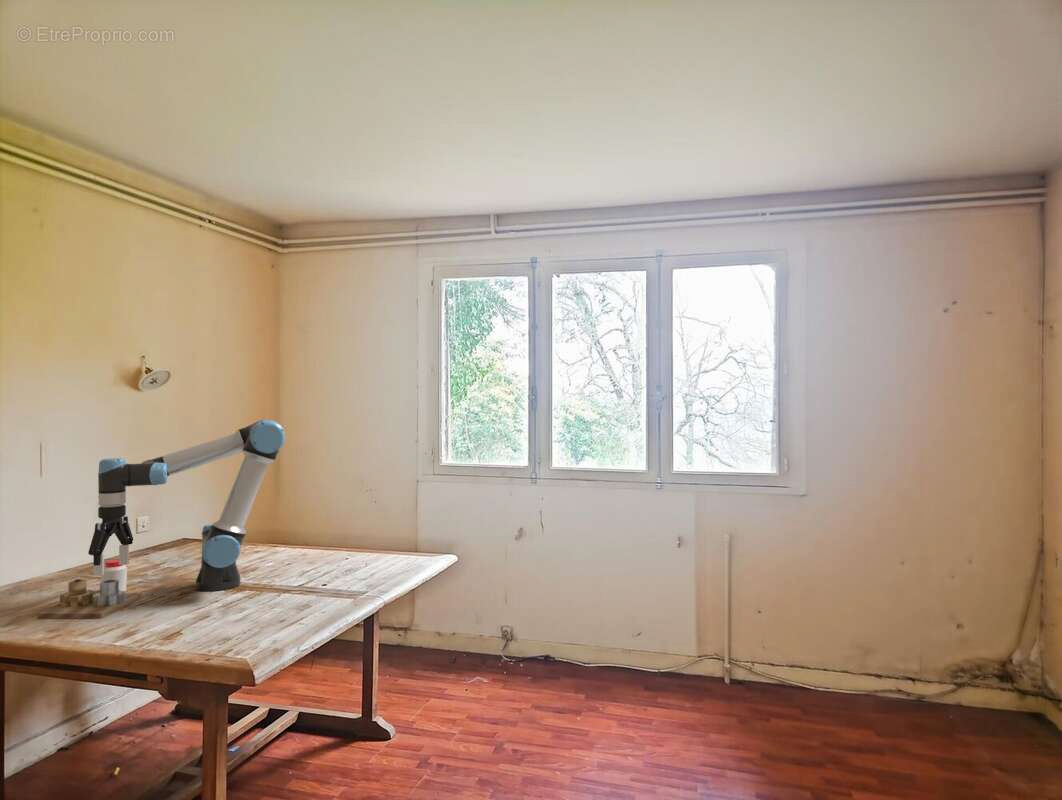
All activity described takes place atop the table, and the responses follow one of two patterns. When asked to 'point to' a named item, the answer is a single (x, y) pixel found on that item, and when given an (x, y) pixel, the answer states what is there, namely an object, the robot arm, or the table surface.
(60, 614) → the gear board
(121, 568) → the pill bottle
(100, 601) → the steel gear
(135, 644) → the table surface
